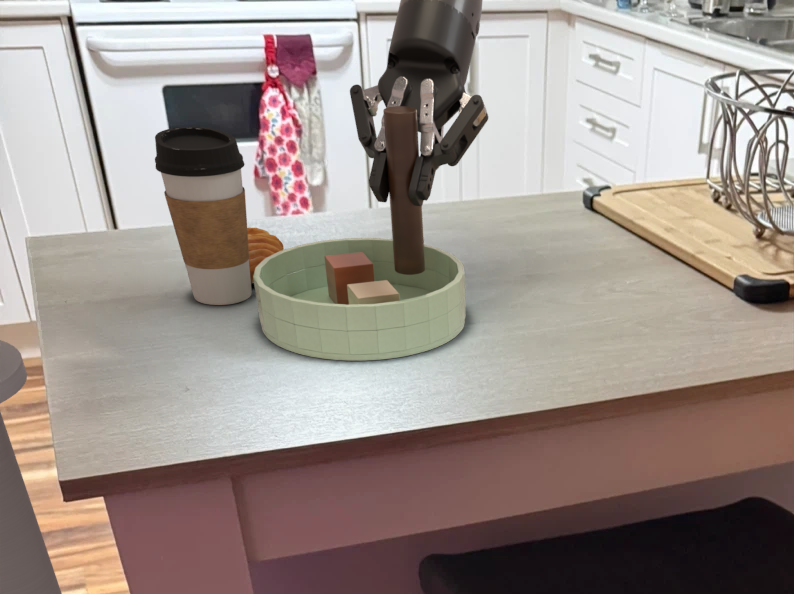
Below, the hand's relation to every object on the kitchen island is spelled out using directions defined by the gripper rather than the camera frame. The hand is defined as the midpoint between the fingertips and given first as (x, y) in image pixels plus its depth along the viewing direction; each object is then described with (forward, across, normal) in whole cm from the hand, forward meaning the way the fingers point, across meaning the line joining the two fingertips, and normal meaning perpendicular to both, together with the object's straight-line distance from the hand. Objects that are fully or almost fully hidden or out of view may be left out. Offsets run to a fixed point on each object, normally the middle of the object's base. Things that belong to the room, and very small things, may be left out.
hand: (397, 198), depth 97 cm
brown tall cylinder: (+4, 0, +6) cm, 7 cm away
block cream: (+11, -1, +4) cm, 12 cm away
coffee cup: (+8, -21, +9) cm, 24 cm away
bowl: (+9, -4, +7) cm, 12 cm away
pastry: (+2, -21, +14) cm, 25 cm away
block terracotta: (+6, -7, +9) cm, 13 cm away
